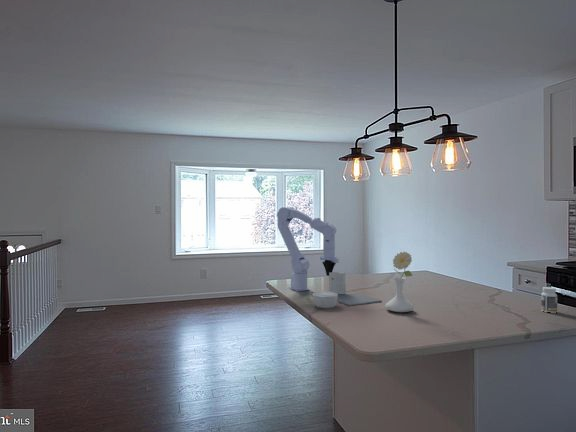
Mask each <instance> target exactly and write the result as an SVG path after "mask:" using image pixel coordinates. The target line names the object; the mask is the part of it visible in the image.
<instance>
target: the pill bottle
mask: <svg viewBox="0 0 576 432" xmlns="http://www.w3.org/2000/svg"><path fill="white" fill-rule="evenodd" d="M556 292H557V289H556V287H551V286H543V287H542V292H541V295H540V310H541V312H543V311H544V312H543V313H546V312H551V313H550V314H557V313H558V295H557V293H556ZM556 312H557V313H556Z"/></svg>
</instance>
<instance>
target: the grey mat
mask: <svg viewBox="0 0 576 432" xmlns="http://www.w3.org/2000/svg"><path fill="white" fill-rule="evenodd" d="M337 303H340V304H343V305H345V306H347V305H348V306H347V307H351V306H352V305H353V306H358V305H359V306H360V304H361V305H367V304H375V303H382V300H380V299H378V298H374V297H372V296H370V295H369V296H368V295H365V294H362V293H359V292H357V293H347V294H338V297H337Z"/></svg>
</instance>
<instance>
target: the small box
mask: <svg viewBox="0 0 576 432" xmlns="http://www.w3.org/2000/svg"><path fill="white" fill-rule="evenodd" d="M346 289H347V288H346V272H340V271H339V272H333V271H332V272H329V276H328V292H334V293H337V294H338V295H345V294H346V293H347V292H346Z"/></svg>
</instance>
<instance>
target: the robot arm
mask: <svg viewBox="0 0 576 432" xmlns="http://www.w3.org/2000/svg"><path fill="white" fill-rule="evenodd" d="M276 217H277V229H278V231H279V233H280V235H281V237H282V239H283V241H284V244H285V246H286V248H287V251H288V252H289V255H290V263H291V268H292V271H293V272H292V273H291V275H290V286H289V289H291V290H294V291H296V292H301V291H310V290H311V288H309V287H308V269H309V267H310V263H309V260H308V259H306V258H305V256H304V255H303V254H302V252H301V251H300V248H299V246H298V245H297V242H296V240H295V237H294V235H293V233H292V232H291V229H290V227H289V226H290V223H291V221H293V219H297V220H300V221H302V222H304V223H306V224H309V226H310V228H312V229H313V230H315V231H317V232H319V234H322V236H323V255H320V256H319V260H320V261H322V265H323V267H324V271H325V274H326V276H328V277H329V272H333V270H334V268H335V266H336V265H337V264H339V262H340V261H339V258H337V257H336V256H335V255H336V253H335V252H336V251H335V249H336V246H335V245H336V239H335V238H336V237H335V236H336V234H337V229H336V226H334V225H333V224H329V222H327V221H326V222H325V221H324V220H322V219H321V218H320V217H314V218H312V217H311V216H309V215H307V214H306V213H303V212H302V211H300V210H298V209H296V208H293V207H291V206H290V207H284V206H283V207H280V208H279V209H278V210H277V213H276Z"/></svg>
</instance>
